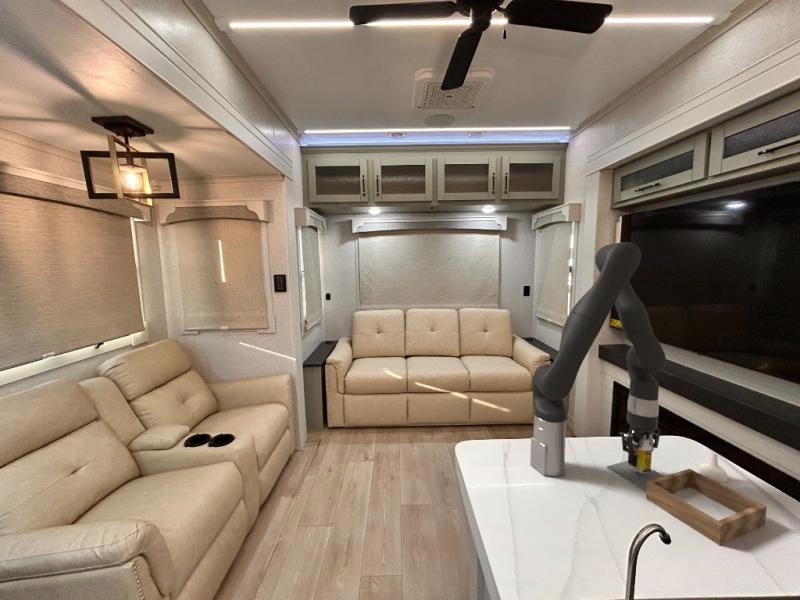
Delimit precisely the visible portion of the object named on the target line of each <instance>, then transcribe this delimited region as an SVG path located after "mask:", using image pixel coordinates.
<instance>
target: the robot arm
mask: <svg viewBox="0 0 800 600" xmlns="http://www.w3.org/2000/svg"><path fill="white" fill-rule="evenodd" d="M641 258H642V252H641V249H640V248H639V247H638V245H637V244H635V243H633V242H630V241H629V242H627V241H626V242H625V241H624V242H617V243H611V244H607V245H604V246H602V247H601V248H599V249H598V251H596V254H595V258H594V261H595V265H596V268H597V270H598V271H599V275H598V277H597V278H596V280H595V281H594V283H593V285H592V286H591V287H590V288H589V289H588V290H587V292H586V293H585V294H583V295H582V296H581V298H580V299H578V301H577V302H576V303H575V305H574V306H573V307H572V309H571V310H570V312H569V315H568V317H567V318H566V320H565V323H564V325H563V328H562V332H561V338H560V343H559V348H558V352H557V354H556V356H555V358H554V359H553V362H552V364H549V363H548V364H543V365H540V366H539V367H537V368H536V370H535V371H534V374H533V375H532V376H533V377H532V404H533V409H534V415H533V419H534V420H533V436H532V437H531V438H530V457H529V459H530V461H529V464H530V466H531V467H533V469H534V470H536V471H537V472H539V473H540V474H541V475H543V476H544V477H546V476H548V477H549V476H550V477H559V476H562V475H563V474H565V461H566V460H565V458H566V433H567V432H566V430H567V410H566V407H565V403H564V399H565V398H567V397H568V396H569V394H570V392H571V391H572V389H573V387H574V383H575V381H576V379H577V376H578V373H579V371H580V368H581V366H582V363H583V362H584V360H585V358H586V357H587V355H588V353H589V351H590V350H591V348H592V345H593V344H594V342H595V340H596V339H597V337H598V336H599V334H600V332H601V330H602V329H603V326H604V324H605V322H606V320H607V318H608V316H609V314H610V312H611V311H612V308H613V307H615V309H616V313H617V315H618V318H619V323H620V325H621V328H622V333H623V335H624V337H625V338H626V339H627V341H629V342H630V343H631V344H632V346H630V348H629V349H628V351H627V353H626V366H627V367H626V368H627V372H628V377H629V382H630V383H629V393H628V397H627V398H628V399H627V409H626V410H627V413H626V422H627V424H629V430H628V432H627V433H626V432H622V433H621V444H622V451H623V452H626V453H628V454H627V461H628V463H629V464H630V465H632V466H634V467H635V466H637V457H638V455H637V454H638V451H639V449H641V448H642V445H643V443H644V441H645V440H646V439H649V445H651V447H652V452H654V450H655V449H658V447H659V441H660V438H661V432H662V431H661V429H659V428H658V427H659V426H658V425H659V414H660V413H659V412H660V411H659V410H660V408H659V407H660V406H659V390H660V387H659V386H660V385H659V382H658V380H657V379H656V378H655V377H654V376H653V375H654V374H656V373H659V372H661V371H663V370H664V369H665V367H666V364H667V356H666V354H665V351H664V349H663V347H662V345H661V343H660V341H659V340H658V339H657V337H656V335H655V334H654V331H653V328H652V324H651V321H650V317H649V314H648V313H647V310H646V307H645V305H644V304H643V302H642V301H641V300H640V298H639V297H638V295H637V294H636V292H635V290H634V289H633V286H632V285H631V282H630V279H631V277H633V275H634V273H635V272H636V270H637V268H638V267H639V266H640V263H641ZM653 373H654V374H653ZM633 441H634V442H636V443H638V445H637V444H635V443H633ZM633 446H635V449H634V450H633Z"/></svg>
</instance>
